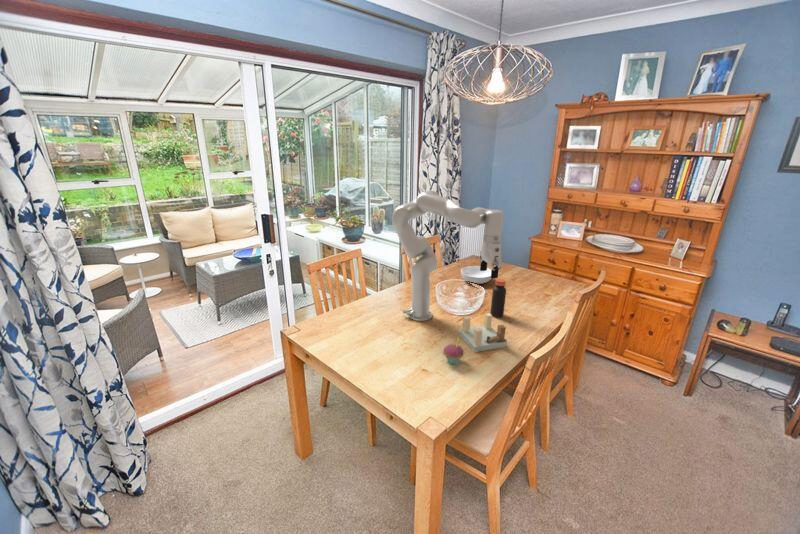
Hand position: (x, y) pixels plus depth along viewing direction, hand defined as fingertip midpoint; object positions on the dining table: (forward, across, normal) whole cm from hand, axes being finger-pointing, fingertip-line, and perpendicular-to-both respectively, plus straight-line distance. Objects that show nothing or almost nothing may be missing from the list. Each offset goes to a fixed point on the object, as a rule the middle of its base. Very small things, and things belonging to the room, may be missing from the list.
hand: (488, 274), depth 161 cm
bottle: (+31, +14, -16) cm, 37 cm away
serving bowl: (+31, +60, -28) cm, 73 cm away
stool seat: (+30, -6, +4) cm, 31 cm away
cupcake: (+31, -18, +24) cm, 43 cm away
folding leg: (+28, -12, +1) cm, 30 cm away
